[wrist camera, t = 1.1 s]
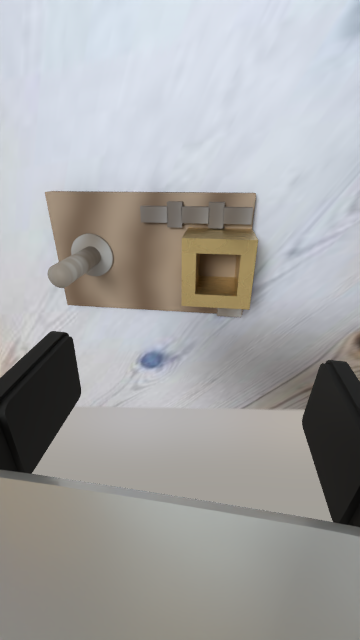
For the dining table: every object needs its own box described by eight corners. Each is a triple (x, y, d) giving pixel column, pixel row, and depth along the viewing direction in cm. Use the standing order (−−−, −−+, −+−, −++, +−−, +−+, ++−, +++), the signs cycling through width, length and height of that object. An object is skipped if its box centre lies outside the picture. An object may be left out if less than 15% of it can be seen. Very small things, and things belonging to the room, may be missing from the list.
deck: (254, 192, 26) (267, 200, 19) (241, 310, 32) (247, 350, 24) (51, 191, 28) (-7, 197, 21) (72, 300, 34) (32, 335, 27)
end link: (252, 228, 26) (258, 240, 22) (245, 288, 29) (249, 309, 25) (188, 227, 27) (181, 238, 23) (187, 286, 30) (181, 305, 25)
